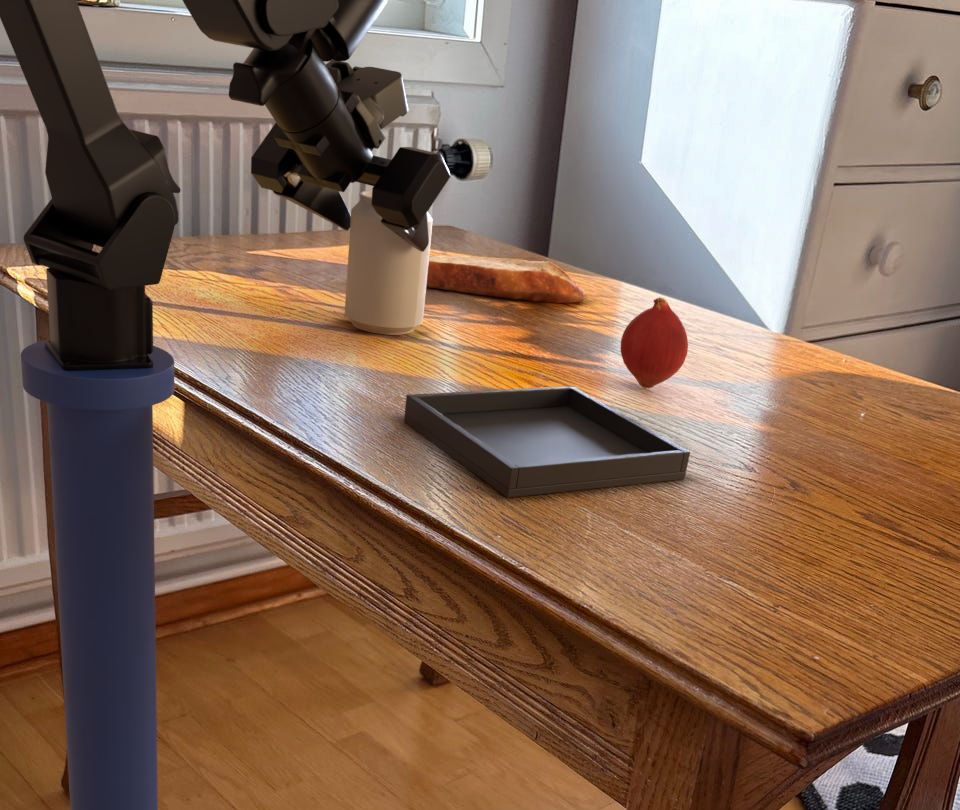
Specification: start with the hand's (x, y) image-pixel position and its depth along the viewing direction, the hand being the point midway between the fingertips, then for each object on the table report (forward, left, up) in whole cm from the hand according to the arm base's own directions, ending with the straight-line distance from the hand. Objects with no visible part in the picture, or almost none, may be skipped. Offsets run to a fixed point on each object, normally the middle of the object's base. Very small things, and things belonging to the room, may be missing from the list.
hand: (386, 236), depth 108 cm
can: (+1, 0, -8) cm, 9 cm away
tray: (-2, -33, -8) cm, 34 cm away
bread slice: (+21, +14, -8) cm, 26 cm away
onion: (+17, -21, -9) cm, 28 cm away
